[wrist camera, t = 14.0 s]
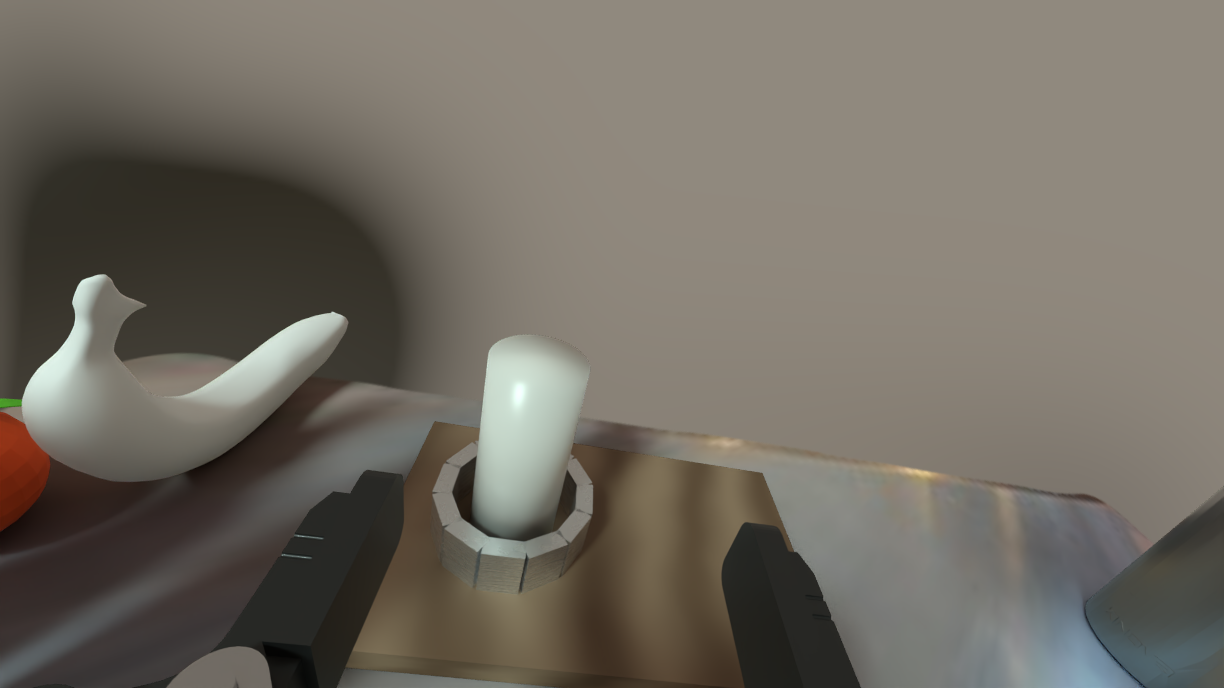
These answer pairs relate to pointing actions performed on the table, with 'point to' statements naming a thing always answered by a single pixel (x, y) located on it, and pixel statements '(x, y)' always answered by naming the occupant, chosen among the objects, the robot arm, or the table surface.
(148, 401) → the white bird figurine
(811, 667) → the robot arm
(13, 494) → the clementine
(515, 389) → the white rounded cylinder
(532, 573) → the collar
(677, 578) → the board
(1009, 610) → the table surface
